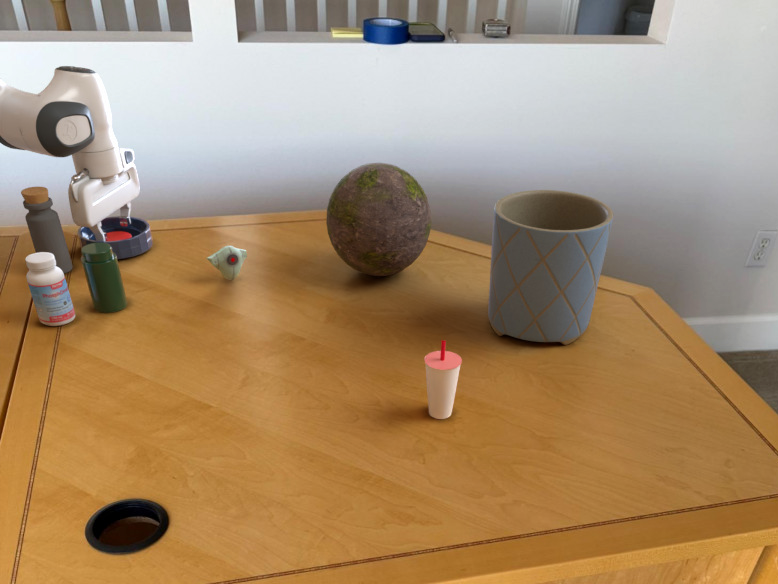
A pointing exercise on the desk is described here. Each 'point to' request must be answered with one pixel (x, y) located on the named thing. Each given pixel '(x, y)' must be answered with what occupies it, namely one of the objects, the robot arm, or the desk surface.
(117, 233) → the cap
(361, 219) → the decorative stone
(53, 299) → the pill bottle
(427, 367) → the cup
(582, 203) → the planter
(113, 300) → the green jar
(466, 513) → the desk surface
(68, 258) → the bottle
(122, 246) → the bowl
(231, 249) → the robot head
